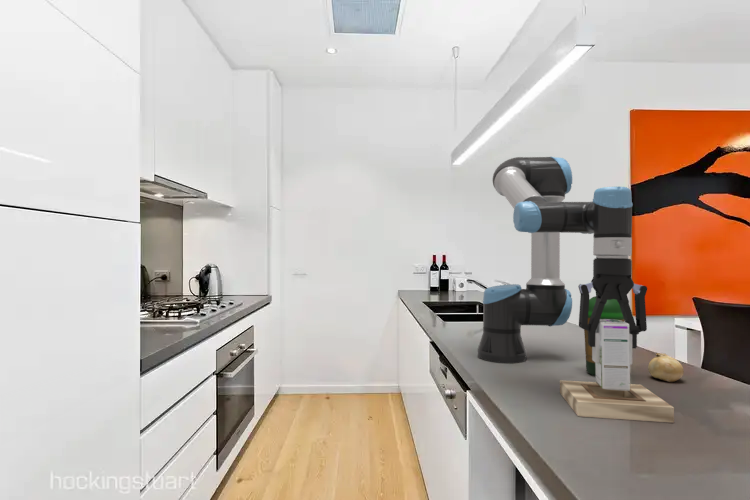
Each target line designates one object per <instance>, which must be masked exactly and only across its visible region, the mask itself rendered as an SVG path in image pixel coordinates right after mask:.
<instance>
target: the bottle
mask: <svg viewBox="0 0 750 500" xmlns="http://www.w3.org/2000/svg"><path fill="white" fill-rule="evenodd" d="M596 297H597V292H596V291H595V296H593V297H590V298H589V311H588V323H589V320H590V317H591V314H592V311H593V309H594V306H595V303H596ZM600 319H614V320H621V321H623V322H625V321H624V317H623V314H622V311H621V308H620V305H619V303H618V301H617V300H616V299H611V300H607V302H606V304H605V306H604V309H603V311H602V314H601V317H600ZM583 332H584V333H583V334H584V349H585V351H584V352H585V367H586V372H587V373H588V374H590V375H592V376H594V377H595V362H594V361H593V360H592V347H590V346H589V345H588V332H587V330H585V329H583Z"/></svg>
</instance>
